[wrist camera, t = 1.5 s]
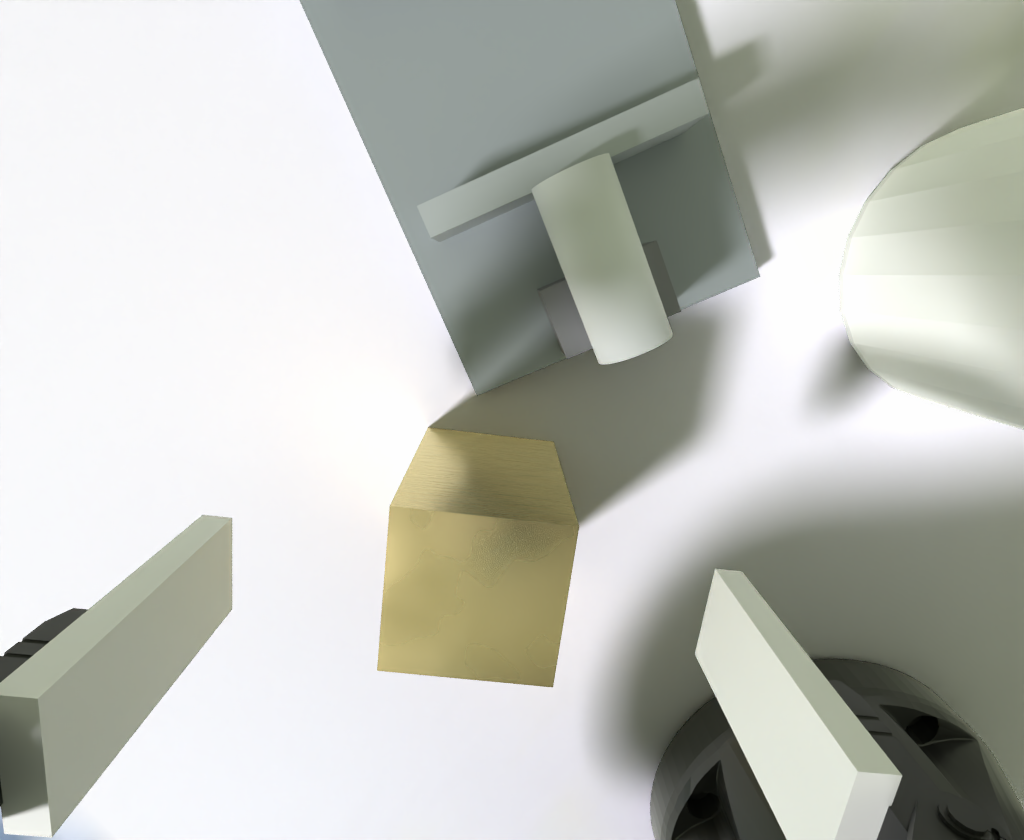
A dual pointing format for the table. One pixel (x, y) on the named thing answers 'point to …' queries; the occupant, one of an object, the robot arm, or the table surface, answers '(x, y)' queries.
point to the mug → (945, 272)
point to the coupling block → (478, 560)
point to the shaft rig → (542, 169)
